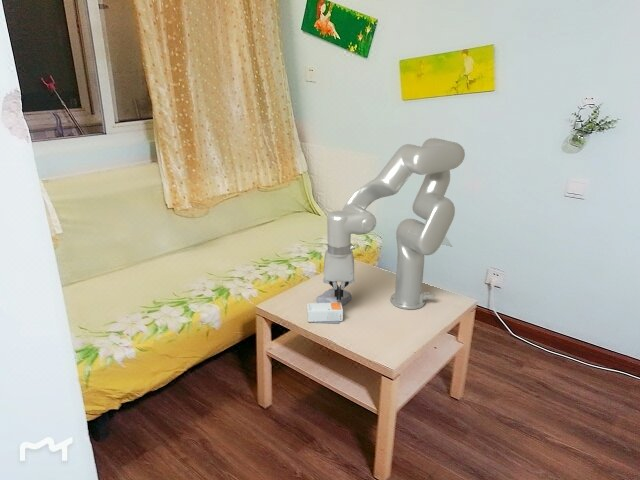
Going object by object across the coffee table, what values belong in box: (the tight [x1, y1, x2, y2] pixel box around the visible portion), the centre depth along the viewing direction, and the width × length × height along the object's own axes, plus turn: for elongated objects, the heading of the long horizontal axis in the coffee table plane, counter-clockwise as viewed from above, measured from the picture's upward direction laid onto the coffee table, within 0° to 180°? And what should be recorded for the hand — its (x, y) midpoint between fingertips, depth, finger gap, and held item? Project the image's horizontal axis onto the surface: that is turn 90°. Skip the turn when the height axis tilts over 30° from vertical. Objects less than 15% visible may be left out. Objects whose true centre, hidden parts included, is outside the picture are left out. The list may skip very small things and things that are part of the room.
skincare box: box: [306, 302, 344, 323], centre depth 160 cm, size 6×4×12 cm
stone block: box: [315, 287, 353, 307], centre depth 172 cm, size 12×5×10 cm
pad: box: [315, 321, 340, 325], centre depth 161 cm, size 8×9×1 cm
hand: (338, 298), depth 159 cm, fingers closed
